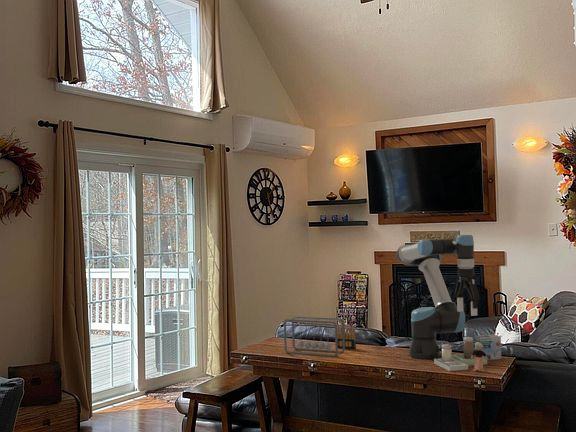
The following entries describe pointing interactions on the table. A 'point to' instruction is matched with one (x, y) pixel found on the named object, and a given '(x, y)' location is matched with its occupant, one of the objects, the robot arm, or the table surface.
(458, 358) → the parts tray
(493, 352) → the light bulb box
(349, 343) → the ammunition clip
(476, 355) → the grandmother figurine
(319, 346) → the newton's cradle
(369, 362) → the table surface
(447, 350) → the fuse
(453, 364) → the white flat frame
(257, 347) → the table surface
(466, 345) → the white and tan cylinder
